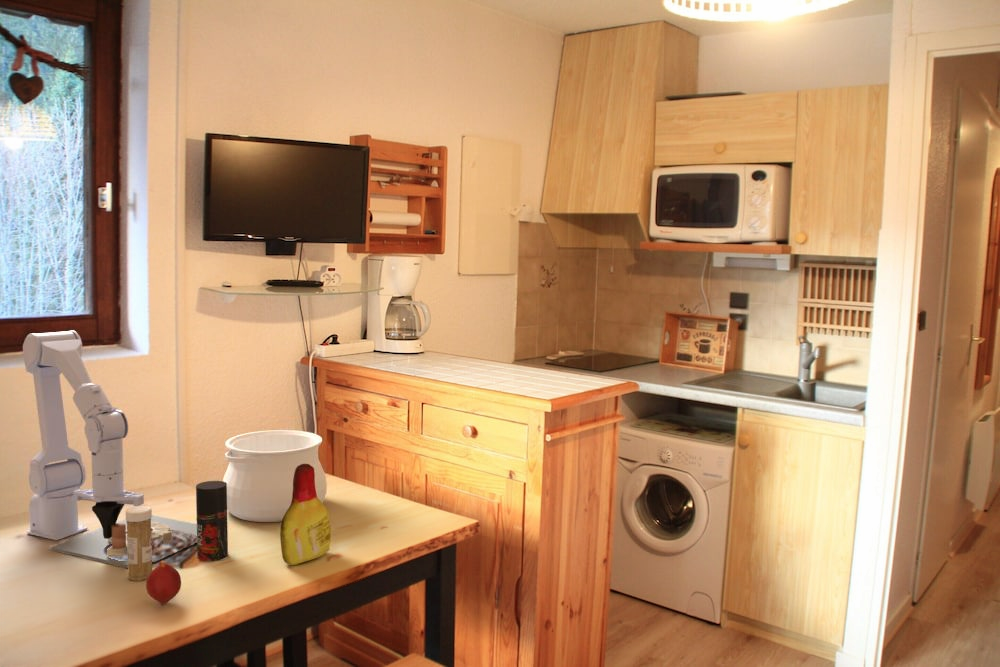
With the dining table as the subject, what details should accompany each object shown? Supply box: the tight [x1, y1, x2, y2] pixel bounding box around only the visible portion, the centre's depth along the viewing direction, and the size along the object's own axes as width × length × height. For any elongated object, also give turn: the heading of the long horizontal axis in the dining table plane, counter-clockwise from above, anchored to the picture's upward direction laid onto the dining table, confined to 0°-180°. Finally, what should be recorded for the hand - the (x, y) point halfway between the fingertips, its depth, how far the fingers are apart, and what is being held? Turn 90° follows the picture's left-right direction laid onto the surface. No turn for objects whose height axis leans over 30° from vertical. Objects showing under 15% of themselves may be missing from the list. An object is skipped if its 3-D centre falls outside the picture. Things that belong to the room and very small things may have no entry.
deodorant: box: [195, 480, 229, 563], centre depth 170 cm, size 6×6×15 cm
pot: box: [222, 429, 328, 523], centre depth 201 cm, size 26×24×17 cm
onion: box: [145, 560, 182, 605], centre depth 148 cm, size 6×6×8 cm
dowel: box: [163, 531, 172, 543], centre depth 175 cm, size 2×2×3 cm
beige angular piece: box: [107, 522, 170, 556], centre depth 176 cm, size 17×12×6 cm
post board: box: [49, 514, 197, 569], centre depth 179 cm, size 24×24×5 cm
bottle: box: [279, 464, 332, 566], centre depth 169 cm, size 12×6×20 cm, turn 143°
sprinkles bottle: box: [125, 505, 154, 582], centre depth 160 cm, size 5×5×14 cm
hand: (109, 536), depth 170 cm, fingers closed
